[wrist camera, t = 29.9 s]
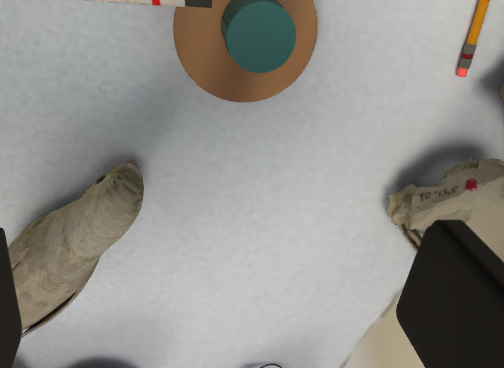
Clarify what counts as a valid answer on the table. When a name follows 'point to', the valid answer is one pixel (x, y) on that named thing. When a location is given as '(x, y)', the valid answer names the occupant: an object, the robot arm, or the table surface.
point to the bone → (501, 92)
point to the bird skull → (456, 203)
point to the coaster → (222, 64)
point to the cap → (258, 34)
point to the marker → (167, 2)
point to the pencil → (472, 38)
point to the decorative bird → (72, 244)
